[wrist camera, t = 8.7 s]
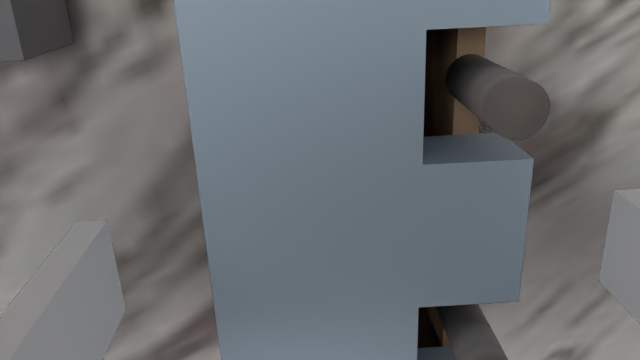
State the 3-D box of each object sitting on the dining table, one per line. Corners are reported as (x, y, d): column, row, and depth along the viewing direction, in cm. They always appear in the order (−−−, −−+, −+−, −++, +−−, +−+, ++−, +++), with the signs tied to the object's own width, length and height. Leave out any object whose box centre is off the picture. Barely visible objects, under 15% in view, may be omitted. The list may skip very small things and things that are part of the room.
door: (190, -17, 15) (171, -14, 13) (515, -32, 15) (553, -31, 13) (239, 386, 20) (231, 441, 18) (481, 371, 20) (505, 424, 18)
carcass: (237, -22, 20) (193, -13, 11) (452, -32, 20) (565, -30, 12) (267, 306, 25) (252, 479, 16) (438, 296, 25) (509, 463, 17)
